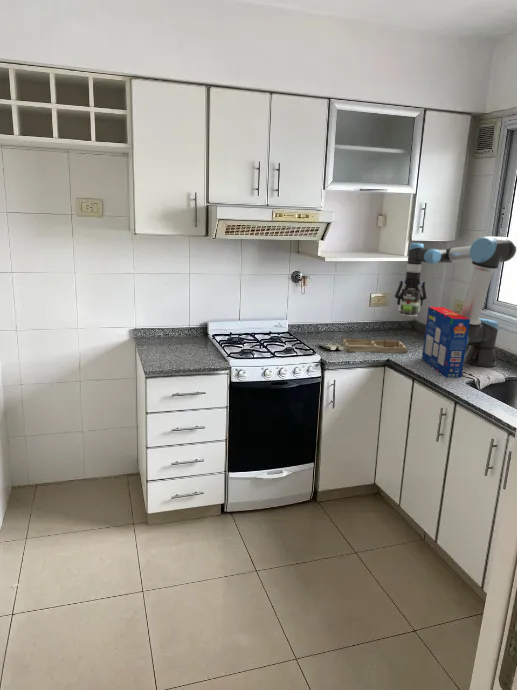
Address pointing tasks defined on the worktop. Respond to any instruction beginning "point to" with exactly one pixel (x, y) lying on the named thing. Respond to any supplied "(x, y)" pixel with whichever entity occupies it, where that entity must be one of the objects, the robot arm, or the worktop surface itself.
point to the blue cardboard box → (445, 341)
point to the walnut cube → (388, 343)
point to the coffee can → (410, 302)
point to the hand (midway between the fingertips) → (408, 311)
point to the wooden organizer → (372, 346)
